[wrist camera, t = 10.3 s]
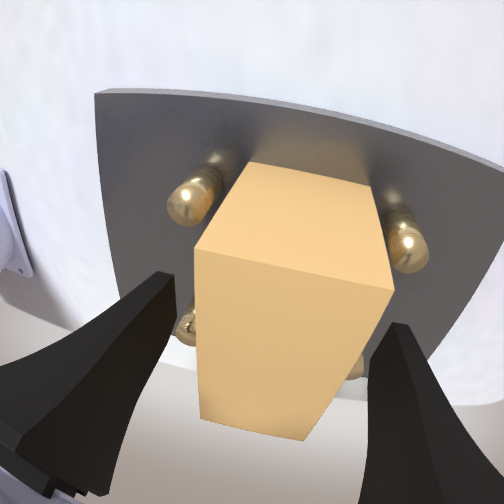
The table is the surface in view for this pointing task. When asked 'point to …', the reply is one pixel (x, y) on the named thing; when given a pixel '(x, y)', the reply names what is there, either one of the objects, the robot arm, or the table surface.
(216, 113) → the chassis plate
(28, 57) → the table surface
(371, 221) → the ochre block
